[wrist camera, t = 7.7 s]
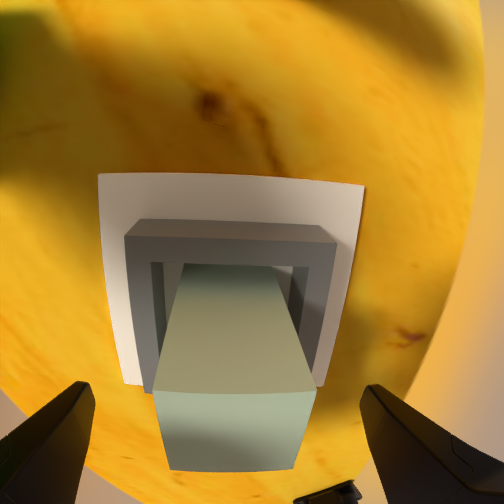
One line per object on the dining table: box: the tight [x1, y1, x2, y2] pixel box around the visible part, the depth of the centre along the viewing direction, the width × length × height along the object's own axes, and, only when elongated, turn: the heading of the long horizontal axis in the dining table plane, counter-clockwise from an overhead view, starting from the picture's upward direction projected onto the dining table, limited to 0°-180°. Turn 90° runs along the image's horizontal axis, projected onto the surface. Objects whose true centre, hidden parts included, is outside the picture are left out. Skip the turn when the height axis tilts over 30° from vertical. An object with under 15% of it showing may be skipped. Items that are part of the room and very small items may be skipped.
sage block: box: [152, 263, 317, 472], centre depth 11 cm, size 4×4×8 cm
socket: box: [98, 172, 365, 394], centre depth 14 cm, size 12×12×3 cm
